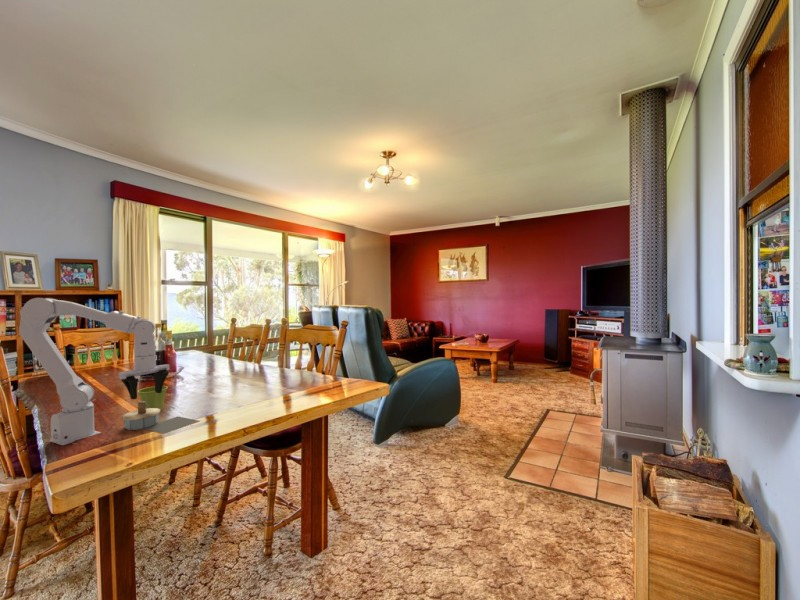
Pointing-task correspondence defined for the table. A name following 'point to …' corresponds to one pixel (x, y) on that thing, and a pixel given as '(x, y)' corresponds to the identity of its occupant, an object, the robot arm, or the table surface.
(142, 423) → the bowl
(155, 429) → the mat
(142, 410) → the lid
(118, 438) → the table surface
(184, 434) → the table surface
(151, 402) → the plant pot
